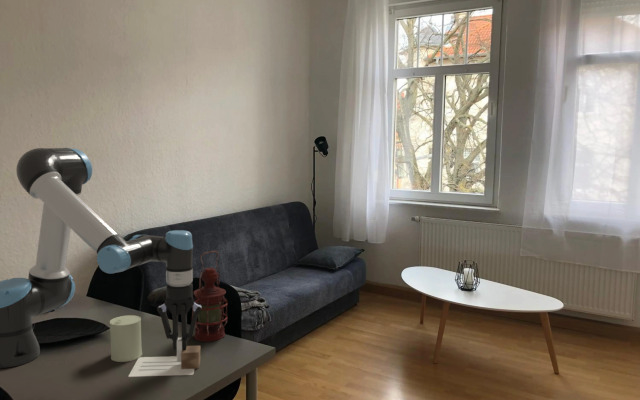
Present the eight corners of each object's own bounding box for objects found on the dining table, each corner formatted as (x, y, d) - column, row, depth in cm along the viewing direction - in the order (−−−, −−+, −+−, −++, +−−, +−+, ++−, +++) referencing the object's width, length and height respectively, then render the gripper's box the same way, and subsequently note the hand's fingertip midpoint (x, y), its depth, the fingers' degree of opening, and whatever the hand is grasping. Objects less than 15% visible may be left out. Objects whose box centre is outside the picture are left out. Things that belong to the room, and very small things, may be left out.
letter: (128, 377, 142) (128, 376, 142) (138, 357, 155) (138, 357, 155) (193, 375, 144) (193, 374, 144) (198, 356, 157) (198, 355, 157)
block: (181, 369, 147) (181, 352, 147) (183, 361, 152) (183, 345, 152) (198, 368, 148) (198, 352, 147) (200, 361, 153) (200, 345, 152)
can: (104, 358, 154) (102, 320, 152) (128, 347, 162) (126, 311, 160) (125, 364, 149) (123, 325, 148) (148, 353, 157) (147, 316, 156)
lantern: (212, 327, 182) (212, 246, 179) (234, 336, 174) (235, 251, 171) (184, 336, 173) (184, 251, 169) (206, 346, 165) (206, 257, 162)
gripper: (154, 287, 142) (155, 366, 145) (200, 286, 144) (200, 365, 147) (159, 280, 150) (160, 355, 152) (203, 279, 152) (203, 354, 154)
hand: (180, 360), depth 150 cm, fingers closed
